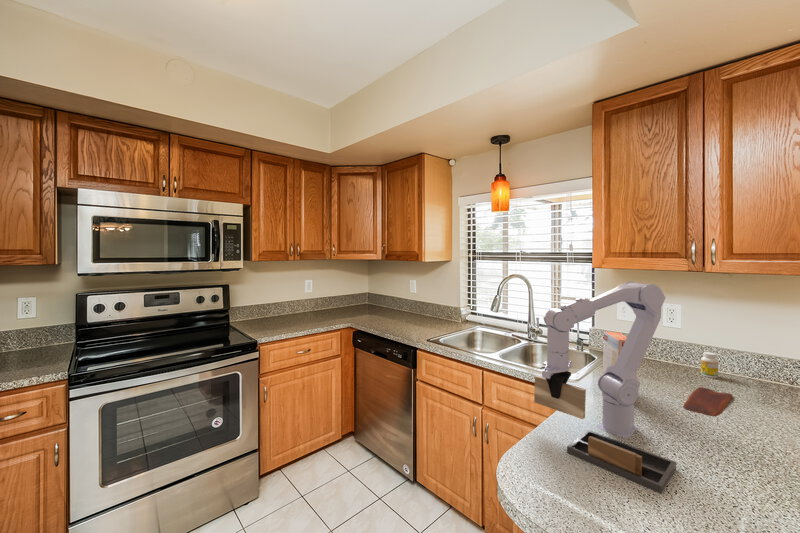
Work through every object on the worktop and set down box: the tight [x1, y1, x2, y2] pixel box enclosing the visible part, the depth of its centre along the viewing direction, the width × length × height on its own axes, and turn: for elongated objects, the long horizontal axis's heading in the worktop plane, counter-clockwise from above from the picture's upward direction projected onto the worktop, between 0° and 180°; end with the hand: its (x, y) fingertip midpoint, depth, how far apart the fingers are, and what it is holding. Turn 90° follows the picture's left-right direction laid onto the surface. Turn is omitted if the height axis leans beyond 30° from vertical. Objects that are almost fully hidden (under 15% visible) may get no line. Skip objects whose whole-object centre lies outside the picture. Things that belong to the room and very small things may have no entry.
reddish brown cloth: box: [683, 386, 733, 417], centre depth 120 cm, size 27×10×2 cm, turn 128°
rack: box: [566, 429, 677, 494], centre depth 86 cm, size 13×20×2 cm, turn 40°
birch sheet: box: [533, 374, 587, 420], centre depth 100 cm, size 2×14×8 cm, turn 41°
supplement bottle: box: [700, 351, 719, 379], centre depth 144 cm, size 5×5×10 cm
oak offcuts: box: [588, 436, 642, 476], centre depth 84 cm, size 3×11×6 cm, turn 40°
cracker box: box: [602, 331, 628, 379], centre depth 130 cm, size 14×6×21 cm, turn 168°
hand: (556, 396), depth 101 cm, fingers closed on birch sheet, 1 cm apart
